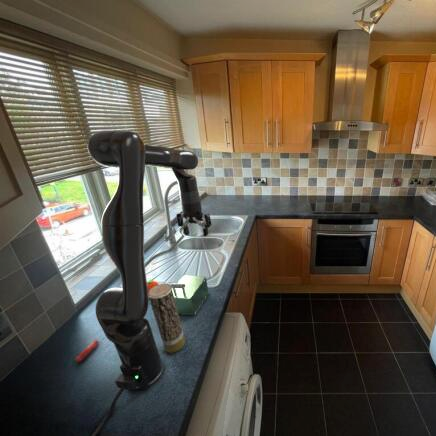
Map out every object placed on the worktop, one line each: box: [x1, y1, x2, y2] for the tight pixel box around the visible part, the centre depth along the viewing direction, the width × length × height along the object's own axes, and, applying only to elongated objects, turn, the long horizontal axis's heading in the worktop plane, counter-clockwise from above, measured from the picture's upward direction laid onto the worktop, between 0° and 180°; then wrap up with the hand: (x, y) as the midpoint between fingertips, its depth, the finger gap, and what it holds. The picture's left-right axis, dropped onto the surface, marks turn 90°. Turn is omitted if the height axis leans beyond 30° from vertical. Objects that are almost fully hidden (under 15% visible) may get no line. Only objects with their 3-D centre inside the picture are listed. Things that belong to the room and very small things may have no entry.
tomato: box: [147, 279, 159, 292], centre depth 110 cm, size 8×7×7 cm
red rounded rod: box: [75, 339, 100, 363], centre depth 83 cm, size 8×2×2 cm, turn 174°
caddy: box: [175, 278, 210, 317], centre depth 104 cm, size 14×11×9 cm
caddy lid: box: [170, 274, 207, 300], centre depth 101 cm, size 14×11×6 cm
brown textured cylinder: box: [148, 283, 186, 354], centre depth 81 cm, size 7×7×25 cm
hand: (196, 235), depth 105 cm, fingers open, 8 cm apart
